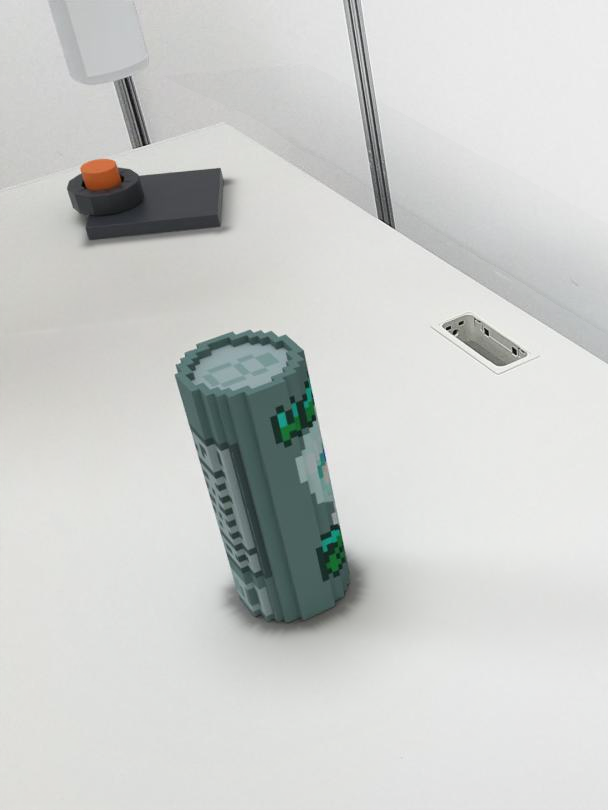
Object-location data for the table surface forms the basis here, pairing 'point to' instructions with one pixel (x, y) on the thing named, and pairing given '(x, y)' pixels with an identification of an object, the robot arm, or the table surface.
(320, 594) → the can
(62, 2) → the eye dropper bottle
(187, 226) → the dark grey base plate
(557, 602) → the table surface
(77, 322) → the table surface
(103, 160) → the button
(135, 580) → the table surface
